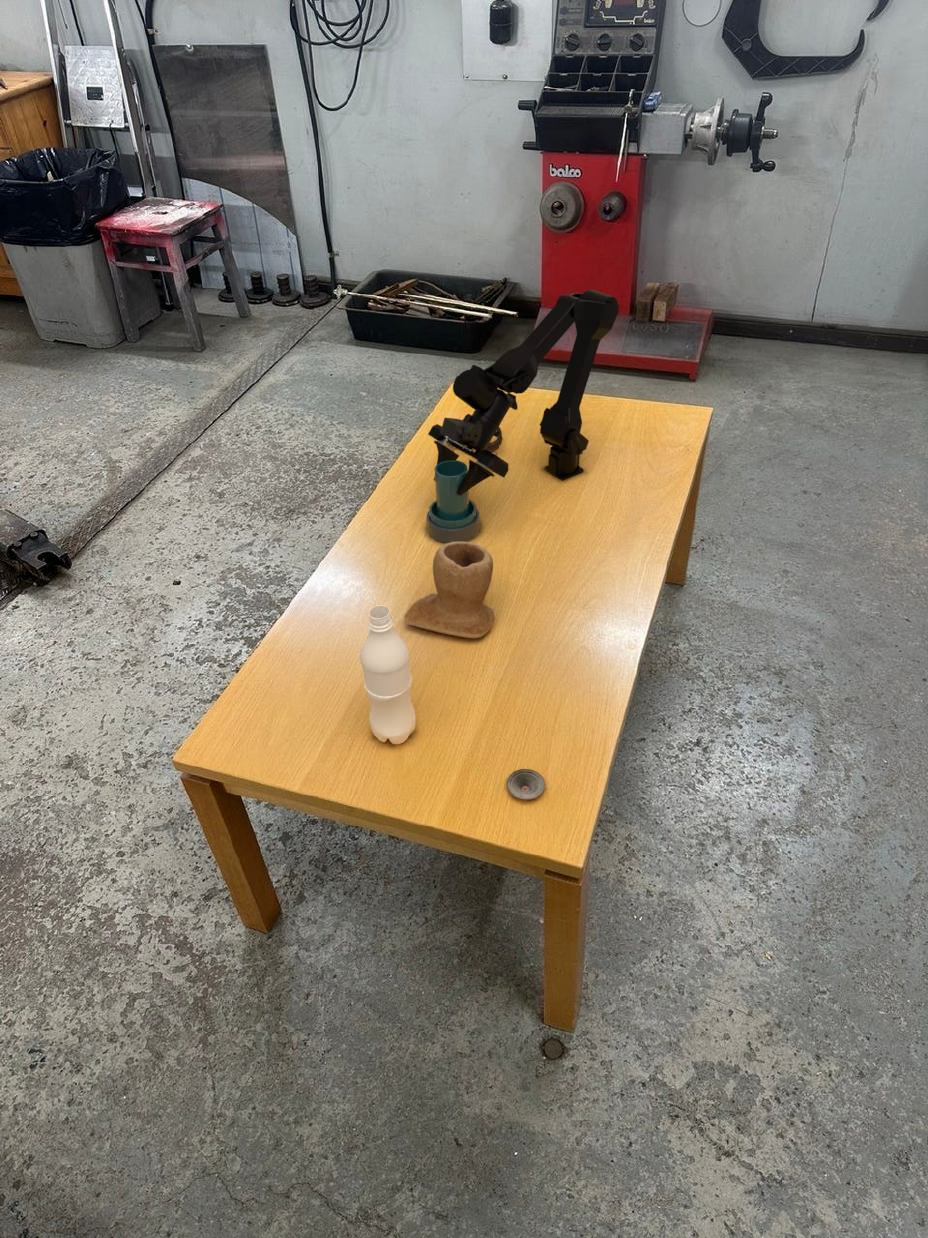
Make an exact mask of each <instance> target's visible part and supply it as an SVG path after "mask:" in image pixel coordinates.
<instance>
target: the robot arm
mask: <svg viewBox="0 0 928 1238" xmlns="http://www.w3.org/2000/svg"><path fill="white" fill-rule="evenodd" d="M619 311H620V305H619V303H618V300H617V298H616V297H615V296H613V295H610V294H606V293H603V292H600V291H597V290H594V289H591V288H590V289H587V290H585V291H583V293H582V292H581V293H580V292H572V293H570V294H567V293H565V294H561V295H560V296H559V297H558V298H557V300H556V302H555V305H554V306H553V308H551V310H550V311H549V312H548V313H547V314H546V315H545V317H544V318H543V319H542V320H541V321H540V322H539V324H537V326H536V327H535V328H534V329H533V331H532V332H530V334H529V335H527V337H526V338H525V340H523V342H522V343H521V344H519V345H518V346H516V347H513V348H511V349H509V350H506V351H505V352H504V353H503V354H502V355H501V356H500V357H499V358H498V359H496V361H495V362H494V363H493V364H490V365H489V366H488V367H485V368H484V369H483V368H482V367H480V366H478V365H477V364H472V365H471V367H470V369H465V370H464V371H462V372H460V374H458V375H456V377H455V379H454V380H453V383H452V391H453V392H452V393H453V394H454V395H455V396H456V397H457V398H458V399H459V400H461V401H462V402H463V403H465V404H466V405H468V406H469V407H470V408H471V409H473V410H474V411H473V412H472V414H470V413H467V414H465V416H464V417H463V419H460V418H453V417H444V418H443V423H442V425H440V424H438V423H436V424H434V425H432V426H431V427H430V429H429V431H428V433H427V435H428V436H430V438H433V439H434V440H433V441H434V442H433V444H435V445H436V448H437V460H436V465H437V464H439V463H440V462H443V461H447V460H457V461H458V458H459V457H460V455H459V454H458V453H456V450H458V451H461V452H462V453H464V454H465V455H468V456H470V457H472V458H473V459H474V460H476V461H473V460H472V459H469V460H468V472H467V473H466V475H465V477H464V479H463V481H462V482H461V484H460V486H459V488H458V490H457V494H458V495H459V496H461V495H462V494H464V493H465V492H466V491H468V490H471V489H472V488H474V487H475V486H477V485H478V484H479V483H481V482H483V481H485V480H486V479H488V478H490V477H492V478H495V474H496V475H498V476H500V477H501V478H503V479H505V478H506V476H507V474H508V472H509V463H508V462H507V461H506V460H504V459H502V458H501V457H500V456H498V455H497V454H495V453H494V452H493V453H491V452H489V451H488V450H487V449H486V448H487V446H488V444H489V443H491V441H492V439H493V437H495V438H498V435H499V434H500V433H499V432H497V429H498V427H500V425H501V423H502V422H503V420H504V418H505V417H506V415H507V413H508V411H509V410H510V409H512V410H514V411H517V410H518V407H519V406H518V402H517V396H516V394H517V395H518V394H523V393H525V392H526V391H527V390H528V389H529V388H530V386H531V385H532V383H533V382H534V380H535V379H536V377H537V375H538V372H539V371H538V370H539V365H540V363H541V361H542V360H543V359H544V358H545V357H546V356H547V354H549V352H550V351H551V350H552V349H553V348H554V346H555V345H556V344H557V343H558V341H560V339H561V338H562V337H563V336H564V335H565V333H567V331H568V330H569V329H570V328H571V327H572V326H573V324H574V325H575V332H576V336H575V338H574V339H575V340H574V343H573V347H572V350H571V353H570V356H569V359H568V363H567V366H566V370H565V374H564V376H563V379H562V384H561V387H560V390H559V394H558V397H557V399H556V402H555V403H554V404H553V405H552V406H551V407H545V409H544V410H543V414H542V419H541V421H540V423H539V427H540V429H539V433H540V435H541V437H542V439H543V442H544V444H545V445H549V446H550V447H549V454H548V458H547V459H548V463H547V465H545V466H544V470H545V471H547V472H548V473H550V474H551V475H553V476H554V477H556V478H557V479H559V480H560V481H565V480H567V479H569V478H572V477H574V476H577V475H580V474H582V473H584V472H585V471H584V470H585V469H584V468H583V467H581V466H580V461H581V460H580V459H581V455H583V452H584V451H586V450H587V448H588V444H589V439H588V438H587V437H586V436H585V435H583V434H582V433H581V430H582V426H583V425H582V424H583V419H582V414H581V410H580V408H581V404H582V400H583V397H584V395H585V391H586V387H587V384H588V382H589V381H588V380H589V378H590V375H591V371H592V368H593V364H594V362H595V359H596V356H597V351H598V349H599V345H600V342H601V340H602V339H604V337H605V336H607V335H608V333H610V331H611V330H612V329H613V326H614V324H615V322H616V319H617V317H618V316H619ZM513 393H514V394H513ZM464 445H465V446H464ZM433 481H434V482H435V475H434V476H433Z"/></svg>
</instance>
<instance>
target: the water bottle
mask: <svg viewBox="0 0 928 1238" xmlns="http://www.w3.org/2000/svg"><path fill="white" fill-rule="evenodd" d="M367 614H368V623H367V627H368V630H369V631H368V634H367V636H366V637H365V639H364V641H363V643H362V646H361V647H360V653H359V660H360V664H361V668H362V673H363V687H364V691H365V693H366V695H367V697H368V701H369V713H368V719H369V726H370V729H371V731H372V734H373V735H374V736H375V738H376V739H377V740H379V742H381V743H386V742H387V741H389V742H390V743H391V744H392V745H400V744H404V743H405V742H406V741H407V740H408V738H409V736H410V735H411V734H412V733H413V732H414V731H415V728H416V723H417V721H416V720H417V716H416V709H415V708H414V705H413V702H412V698H411V687H412V683H413V677H412V674H411V666H410V665H411V664H410V651H409V647H408V645H407V642H405V640H404V639H403V638H402V637H401V635H400V634H399V633H398V632H397V631H396V629H395V628H394V620H393V618H392V617H391V610H390V608H389V607H388V606H387V605H383V604H382V605H381V604H379V605H374V606H373V607H371V608H370V609H369V610H368V613H367Z"/></svg>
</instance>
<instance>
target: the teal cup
mask: <svg viewBox="0 0 928 1238" xmlns="http://www.w3.org/2000/svg"><path fill="white" fill-rule="evenodd" d="M468 470H469V467H468V465H467V464H466V463H465V462H463V461H461V460H458V459H457V460H447V461H443V462H440V463H439V464H437V463H436V465H435V466H434V476H435V481H434V485H435V501H437V514H438V517H439V518H440V519H442V520H447V521H456V520H461V519H464V518H466V517H467V516H468V515H469V499H470V494H469V493H470V491H469V490H470V489H469V490H468V491H466V492H465V493H464V494H462V495H461V496H459V495H458V494H457V490H458V488H459V486H460V484H461V482H462V481H463V479H464V477H465V475H466V473H467V472H468Z"/></svg>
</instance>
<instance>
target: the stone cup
mask: <svg viewBox="0 0 928 1238" xmlns="http://www.w3.org/2000/svg"><path fill="white" fill-rule="evenodd" d="M432 561H433V562H432V574H433V576H432V577H433V581H434V586H435V589H436V593H430V594H428V595H427V594H426V595H425V596H424V597H421V598H419V599H417V600H416V601H414V602H413V603H412V605H411V606H410V607H408V609H407V611H406V613H405V614H404V616H403V617H404V618H403V623H404V624H406V625H409V626H413V627H416V628H420V629H424V630H428V631H432V632H436V633H439V634H444V635H449V636H455V637H460V638H466V639H481V638H483V637H484V636H486V634H488V632H489V631H490V630H491V629H492V627H493V625H494V622H495V618H496V616H495V612H494V609H492V608H491V607H490V606H487V605H486V604H484V600H485V598H486V595H487V593H488V591H489V589H490V586H491V582H492V579H493V572H494V571H493V570H494V560H493V557H492V554H490V552H489V551H488V550H487V549H486V548H485V547H483V546H481V545H480V544H476V543H474V542H469V541H467V542H450V543H447V544H446V543H443V544H442V545H441V546H440V547H439V548H438V549H437V550H436V552H435V555H434V557H433V560H432Z"/></svg>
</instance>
